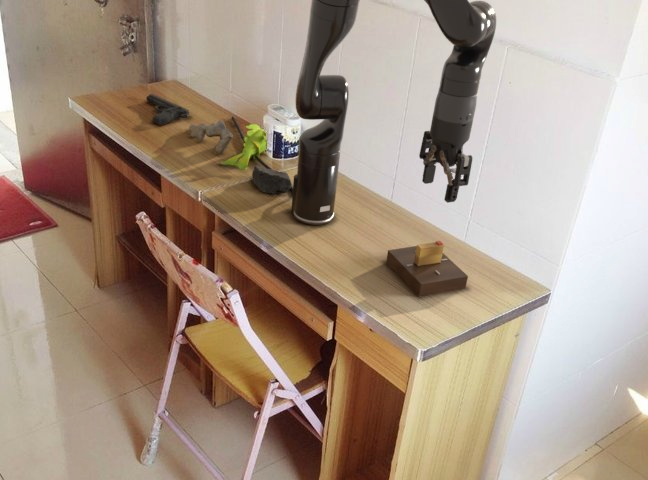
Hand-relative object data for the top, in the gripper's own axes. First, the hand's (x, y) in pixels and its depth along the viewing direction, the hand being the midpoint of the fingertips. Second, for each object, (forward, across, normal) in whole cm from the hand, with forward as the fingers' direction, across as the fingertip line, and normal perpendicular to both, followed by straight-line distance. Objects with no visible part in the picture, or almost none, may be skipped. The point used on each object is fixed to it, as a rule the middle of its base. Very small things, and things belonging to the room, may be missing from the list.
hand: (438, 191), depth 155 cm
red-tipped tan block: (+15, +3, -1) cm, 15 cm away
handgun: (+20, -103, -32) cm, 110 cm away
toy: (+19, -64, -15) cm, 68 cm away
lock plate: (+18, +3, -1) cm, 18 cm away
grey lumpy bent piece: (+19, -77, -25) cm, 83 cm away
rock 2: (+19, -46, -18) cm, 52 cm away
